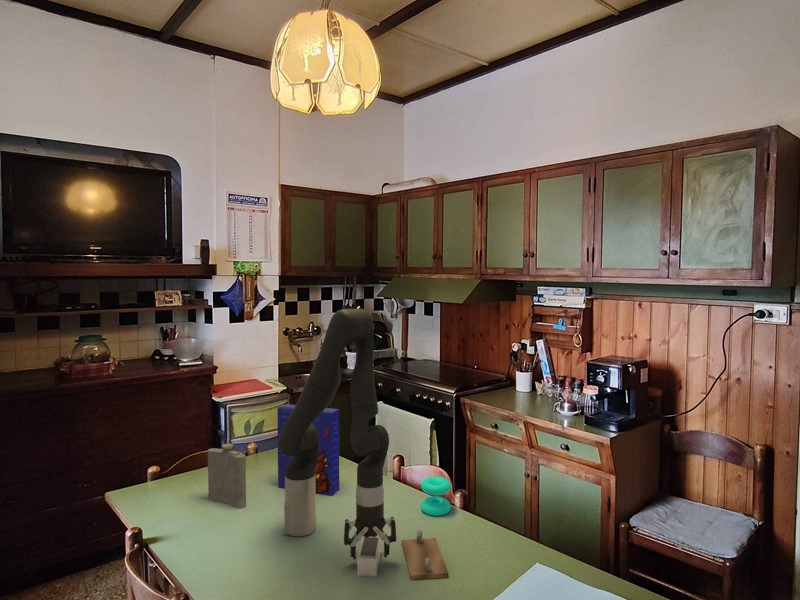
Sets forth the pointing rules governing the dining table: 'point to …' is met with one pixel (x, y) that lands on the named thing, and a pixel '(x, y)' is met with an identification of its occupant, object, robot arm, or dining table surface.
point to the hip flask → (227, 476)
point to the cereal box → (326, 453)
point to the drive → (369, 556)
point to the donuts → (435, 503)
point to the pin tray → (424, 558)
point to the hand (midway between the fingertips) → (370, 557)
